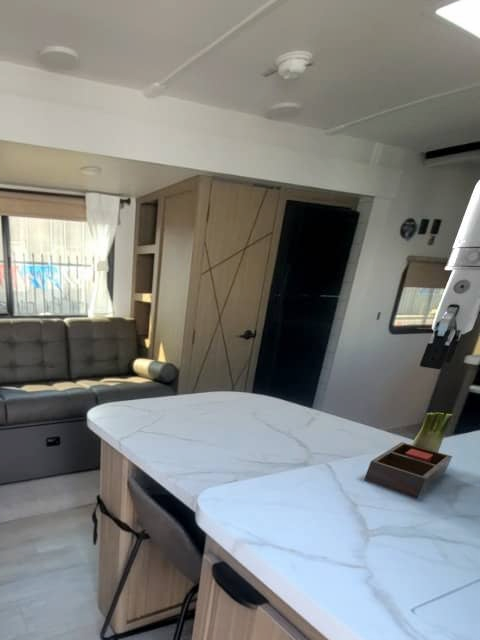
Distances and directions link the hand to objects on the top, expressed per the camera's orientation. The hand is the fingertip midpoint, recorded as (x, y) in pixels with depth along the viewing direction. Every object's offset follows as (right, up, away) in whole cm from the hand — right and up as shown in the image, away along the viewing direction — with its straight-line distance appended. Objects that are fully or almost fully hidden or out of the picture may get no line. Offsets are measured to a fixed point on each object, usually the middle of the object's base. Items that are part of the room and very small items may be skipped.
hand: (435, 364), depth 75 cm
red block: (+7, -20, +15) cm, 26 cm away
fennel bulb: (+14, -18, +21) cm, 31 cm away
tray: (+4, -21, +13) cm, 25 cm away
